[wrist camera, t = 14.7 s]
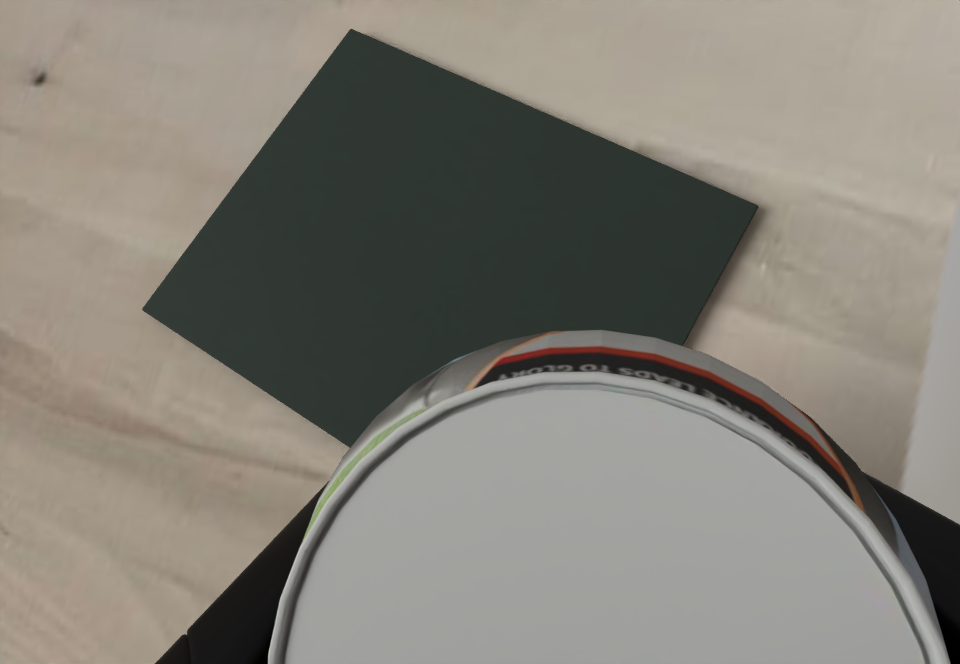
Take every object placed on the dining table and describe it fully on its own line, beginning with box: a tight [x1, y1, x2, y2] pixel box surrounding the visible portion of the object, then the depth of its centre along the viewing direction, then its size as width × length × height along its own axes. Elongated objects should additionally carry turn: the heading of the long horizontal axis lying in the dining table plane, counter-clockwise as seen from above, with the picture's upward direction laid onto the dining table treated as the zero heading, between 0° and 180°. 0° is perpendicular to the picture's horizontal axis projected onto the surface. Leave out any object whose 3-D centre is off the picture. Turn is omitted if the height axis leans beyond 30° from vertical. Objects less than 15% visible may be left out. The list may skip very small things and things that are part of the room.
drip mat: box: [142, 29, 758, 448], centre depth 24 cm, size 20×16×1 cm
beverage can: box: [268, 330, 951, 664], centre depth 10 cm, size 6×7×12 cm
